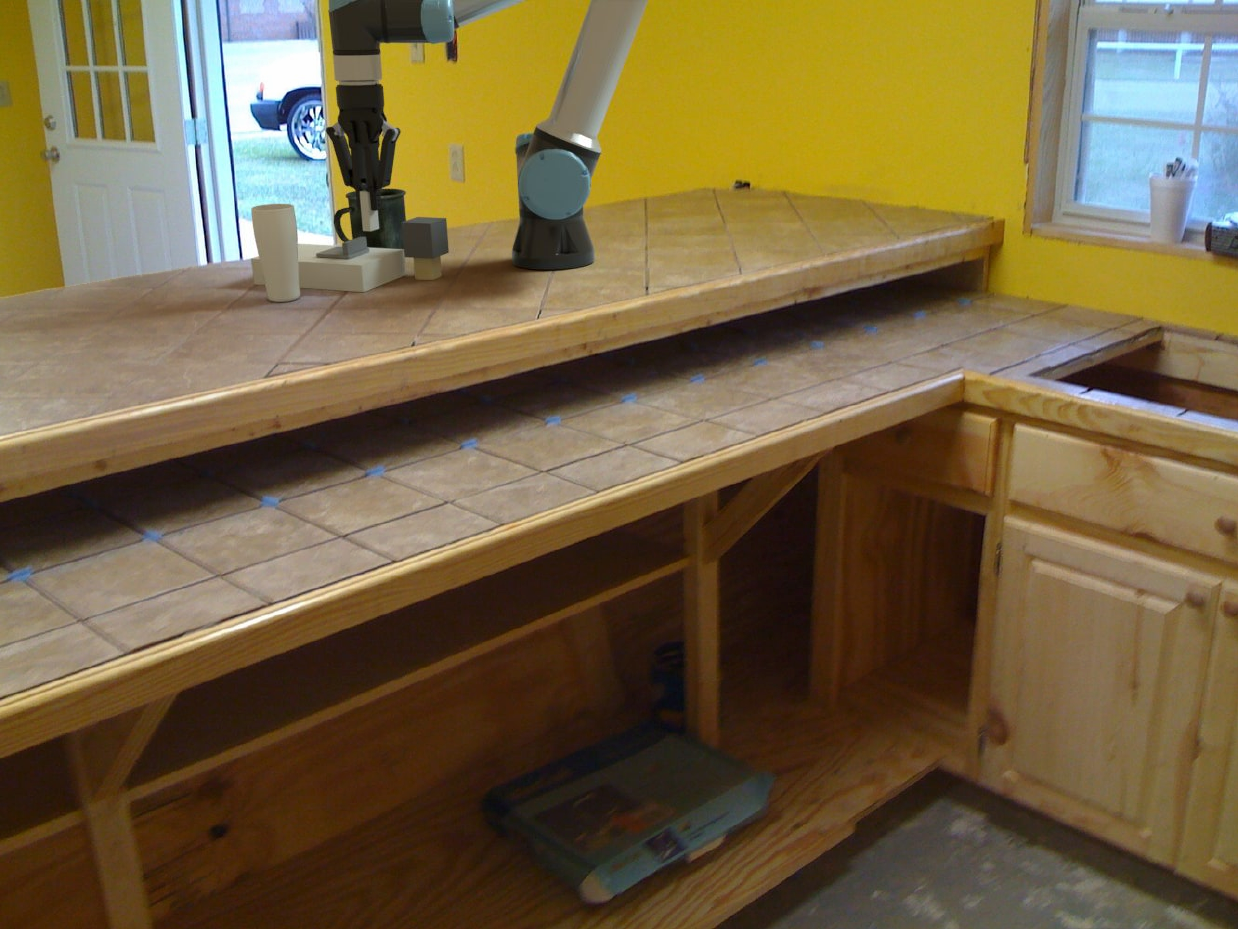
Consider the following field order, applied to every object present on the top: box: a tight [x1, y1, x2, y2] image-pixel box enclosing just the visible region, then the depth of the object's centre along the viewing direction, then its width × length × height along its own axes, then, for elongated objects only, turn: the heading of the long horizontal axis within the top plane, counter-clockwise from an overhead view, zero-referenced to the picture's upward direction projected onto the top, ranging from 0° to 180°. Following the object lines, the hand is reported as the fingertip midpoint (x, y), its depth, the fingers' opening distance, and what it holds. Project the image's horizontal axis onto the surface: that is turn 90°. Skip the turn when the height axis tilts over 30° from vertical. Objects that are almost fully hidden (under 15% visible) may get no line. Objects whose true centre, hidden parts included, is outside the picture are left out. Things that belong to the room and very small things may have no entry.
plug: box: [402, 216, 450, 281], centre depth 206 cm, size 6×6×10 cm
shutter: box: [316, 237, 369, 259], centre depth 205 cm, size 6×6×3 cm
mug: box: [333, 188, 407, 249], centre depth 224 cm, size 11×15×12 cm
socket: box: [250, 243, 407, 293], centre depth 207 cm, size 22×14×4 cm, turn 69°
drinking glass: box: [251, 203, 301, 303], centre depth 192 cm, size 7×7×15 cm
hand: (371, 229), depth 200 cm, fingers closed
